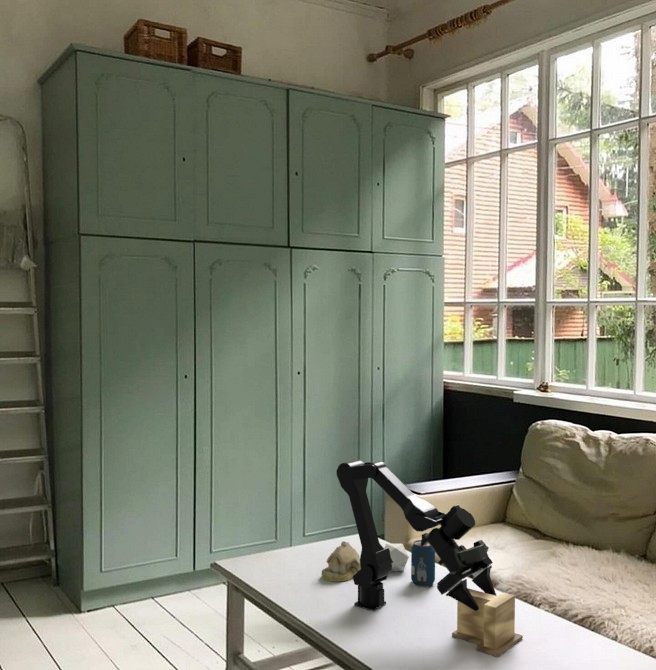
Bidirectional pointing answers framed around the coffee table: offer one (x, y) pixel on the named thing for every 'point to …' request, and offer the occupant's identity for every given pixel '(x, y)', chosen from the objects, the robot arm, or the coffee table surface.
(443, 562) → the robot arm
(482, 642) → the walnut T outline
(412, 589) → the coffee table surface
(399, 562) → the white polyhedron
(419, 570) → the soda can
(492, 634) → the oak T block
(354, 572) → the ceramic model
